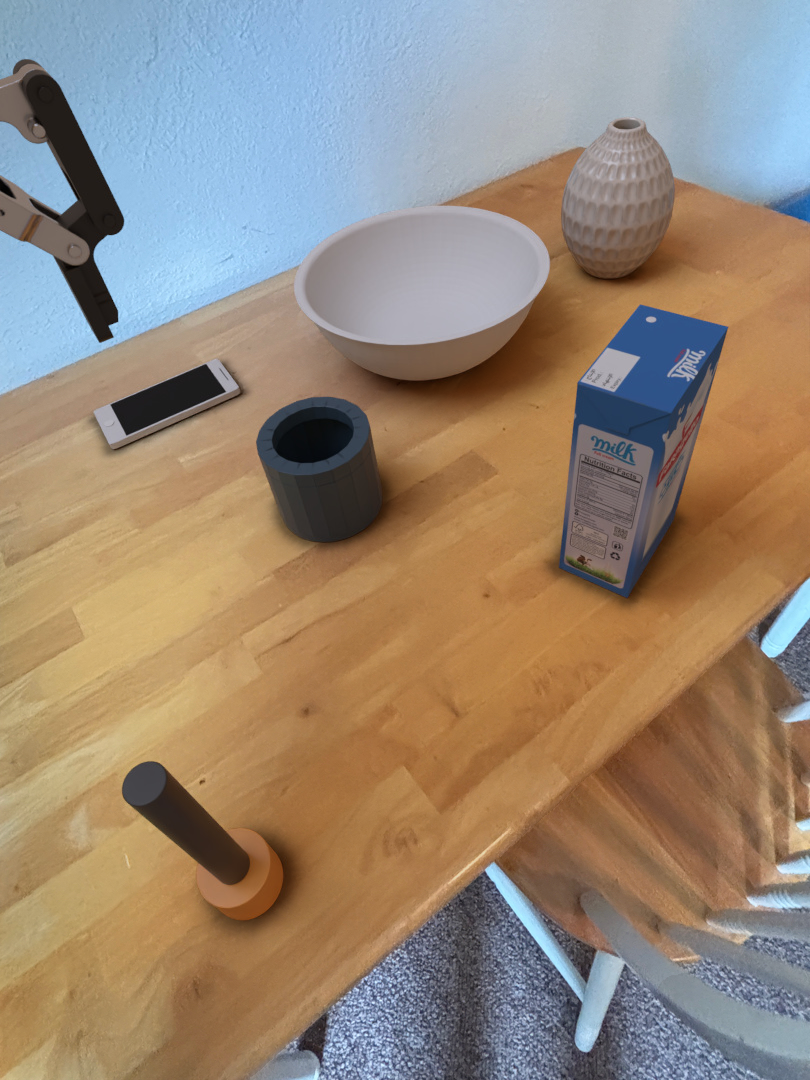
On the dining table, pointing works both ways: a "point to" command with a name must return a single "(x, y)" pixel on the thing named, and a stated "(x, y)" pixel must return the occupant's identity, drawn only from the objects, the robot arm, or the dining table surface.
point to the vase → (618, 200)
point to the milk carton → (635, 443)
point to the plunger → (208, 844)
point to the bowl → (423, 288)
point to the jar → (321, 468)
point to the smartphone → (165, 403)
